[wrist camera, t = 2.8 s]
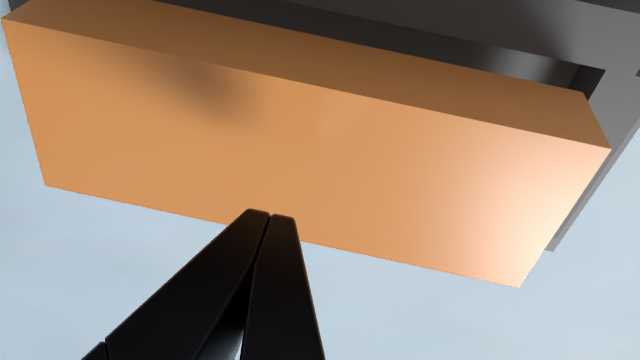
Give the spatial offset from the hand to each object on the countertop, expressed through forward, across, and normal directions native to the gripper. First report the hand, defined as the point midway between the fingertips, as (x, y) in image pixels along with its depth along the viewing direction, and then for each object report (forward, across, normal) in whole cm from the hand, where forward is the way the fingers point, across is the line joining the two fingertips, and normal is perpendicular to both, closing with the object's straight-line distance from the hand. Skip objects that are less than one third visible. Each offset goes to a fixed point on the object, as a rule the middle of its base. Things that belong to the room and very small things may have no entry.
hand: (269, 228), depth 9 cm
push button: (+4, 0, 0) cm, 4 cm away
